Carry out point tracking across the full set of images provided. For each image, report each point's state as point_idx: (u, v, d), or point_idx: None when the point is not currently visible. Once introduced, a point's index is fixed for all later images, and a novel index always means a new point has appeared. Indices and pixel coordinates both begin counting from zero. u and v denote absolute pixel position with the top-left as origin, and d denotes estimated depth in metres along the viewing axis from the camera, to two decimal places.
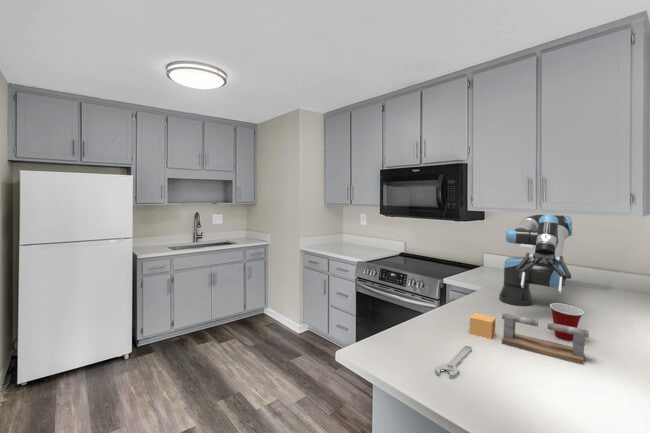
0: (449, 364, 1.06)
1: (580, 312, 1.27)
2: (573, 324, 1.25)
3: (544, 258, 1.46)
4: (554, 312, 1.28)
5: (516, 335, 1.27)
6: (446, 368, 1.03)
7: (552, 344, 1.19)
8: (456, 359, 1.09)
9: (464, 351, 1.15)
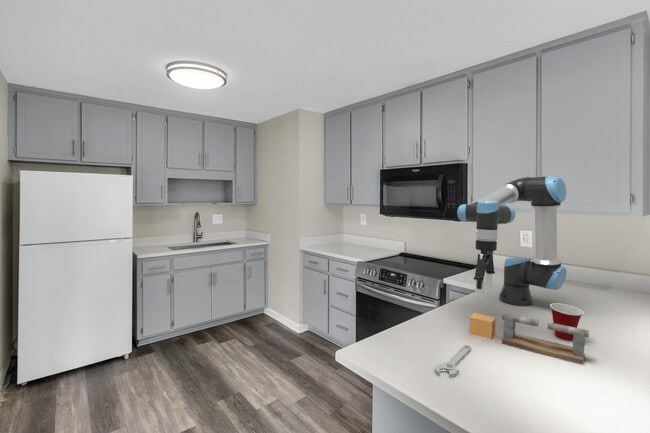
0: (448, 363, 1.06)
1: (580, 312, 1.27)
2: (573, 324, 1.25)
3: None
4: (554, 312, 1.28)
5: (516, 335, 1.27)
6: (446, 367, 1.04)
7: (552, 344, 1.19)
8: (455, 358, 1.10)
9: (463, 350, 1.16)
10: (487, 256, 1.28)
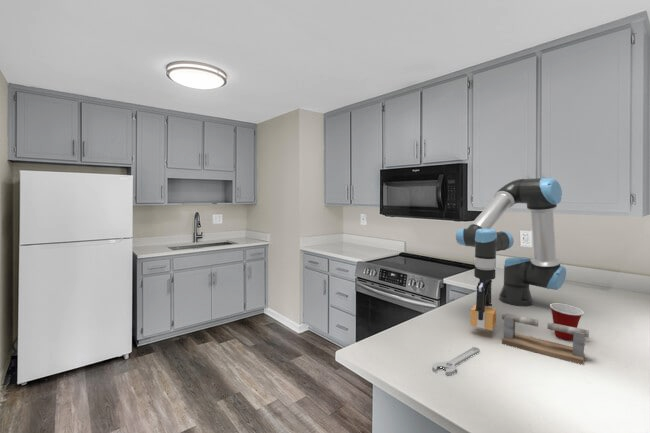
0: (449, 362, 1.07)
1: (580, 312, 1.27)
2: (573, 324, 1.25)
3: None
4: (554, 312, 1.28)
5: (516, 335, 1.27)
6: (444, 365, 1.05)
7: (552, 344, 1.19)
8: (458, 358, 1.10)
9: (470, 352, 1.15)
10: (486, 285, 1.29)
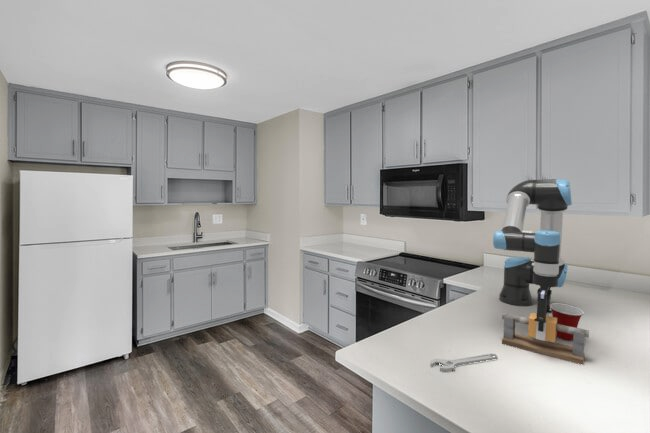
0: (451, 361, 1.08)
1: (580, 312, 1.27)
2: (573, 324, 1.25)
3: None
4: (554, 312, 1.28)
5: (516, 335, 1.27)
6: (443, 362, 1.07)
7: (552, 344, 1.19)
8: (465, 360, 1.09)
9: (484, 357, 1.11)
10: (547, 293, 1.16)
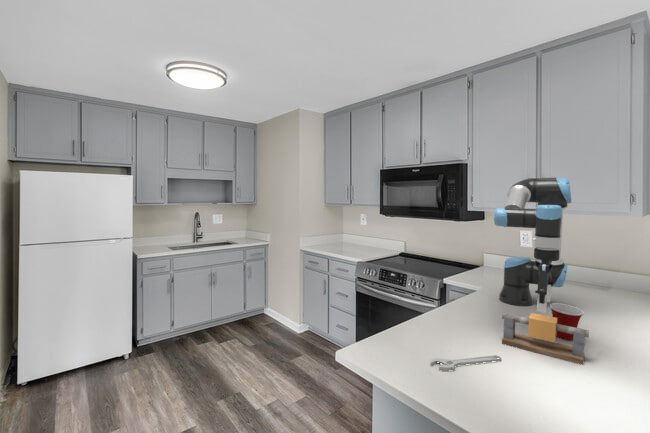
0: (452, 361, 1.08)
1: (580, 312, 1.27)
2: (573, 324, 1.25)
3: None
4: (554, 312, 1.28)
5: (516, 335, 1.27)
6: (443, 362, 1.07)
7: (552, 344, 1.19)
8: (466, 360, 1.09)
9: (487, 358, 1.10)
10: (549, 266, 1.15)
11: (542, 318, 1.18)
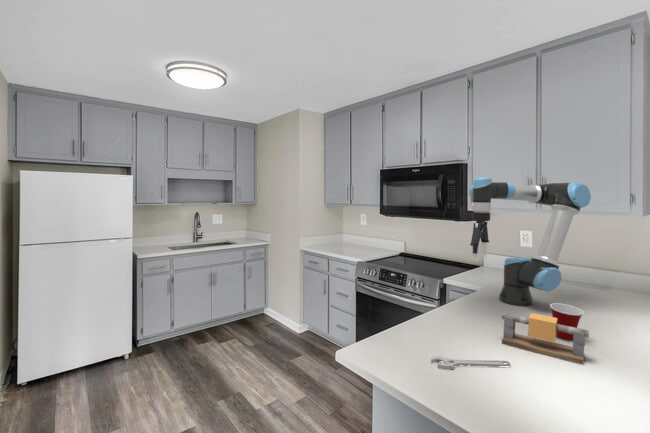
0: (454, 360, 1.08)
1: (580, 312, 1.27)
2: (573, 324, 1.25)
3: None
4: (554, 312, 1.28)
5: (516, 335, 1.27)
6: (444, 360, 1.08)
7: (552, 344, 1.19)
8: (470, 362, 1.08)
9: (494, 362, 1.08)
10: (482, 225, 1.47)
11: (542, 318, 1.18)
